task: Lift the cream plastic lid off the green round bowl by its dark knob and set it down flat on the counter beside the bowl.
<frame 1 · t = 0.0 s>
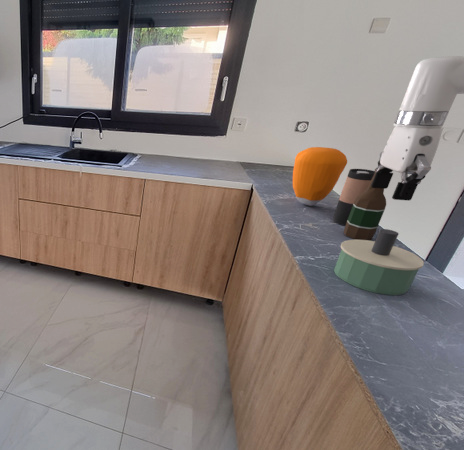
hand: (389, 193, 75), 24 cm above the worktop, tool pointing down, fingers open, 9 cm apart
green round bowl: (368, 278, 84), on the worktop
orange egg-shaped ornament: (306, 205, 137), on the worktop
beer bottle: (356, 236, 107), on the worktop
lid: (379, 254, 81), point 7 cm above the worktop, touching green round bowl
travel mug: (344, 223, 118), on the worktop
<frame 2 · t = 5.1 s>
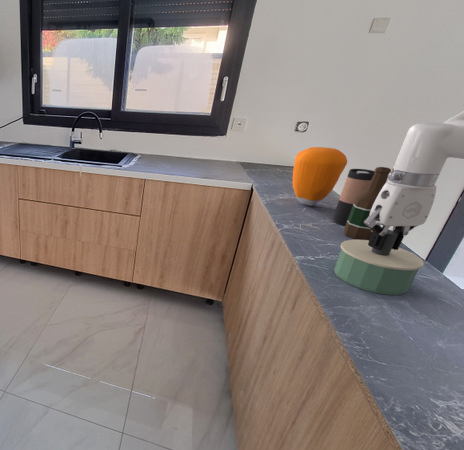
hand: (382, 246, 80), 10 cm above the worktop, tool pointing down, fingers closed on lid, 3 cm apart
lid: (379, 254, 81), point 8 cm above the worktop, touching gripper, green round bowl
everything else where it was.
when the fingers open (3 cm above the worktop, at t = 14.8 s): lid stays where it is, point 1 cm above the worktop.
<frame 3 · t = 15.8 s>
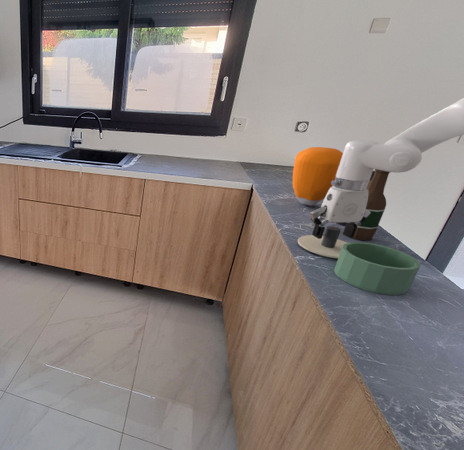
hand: (332, 236, 98), 4 cm above the worktop, tool pointing down, fingers open, 9 cm apart
lid: (327, 247, 100), point 1 cm above the worktop
everything else where it was.
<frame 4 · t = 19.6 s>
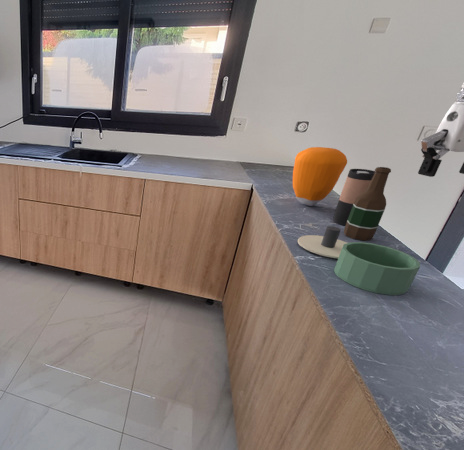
hand: (446, 174, 73), 28 cm above the worktop, tool pointing down, fingers open, 9 cm apart
nothing on the worktop moved.
at the end: lid inside the target area (0.1 cm from its centre), point 0.6 cm above the worktop; lid tilted 0°; the gripper is holding nothing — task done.
